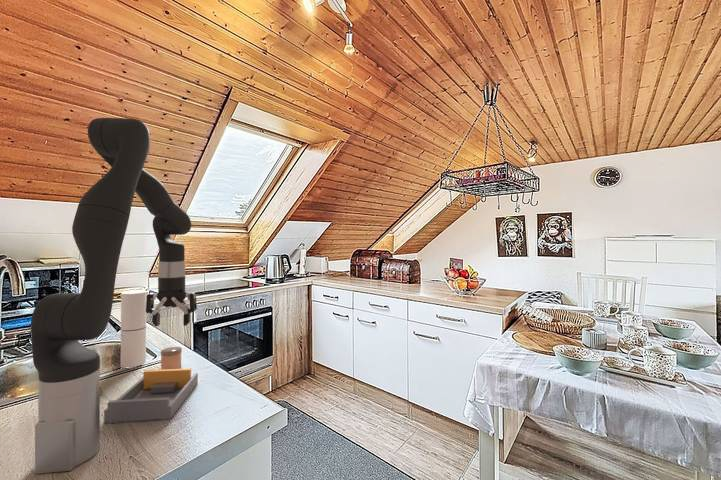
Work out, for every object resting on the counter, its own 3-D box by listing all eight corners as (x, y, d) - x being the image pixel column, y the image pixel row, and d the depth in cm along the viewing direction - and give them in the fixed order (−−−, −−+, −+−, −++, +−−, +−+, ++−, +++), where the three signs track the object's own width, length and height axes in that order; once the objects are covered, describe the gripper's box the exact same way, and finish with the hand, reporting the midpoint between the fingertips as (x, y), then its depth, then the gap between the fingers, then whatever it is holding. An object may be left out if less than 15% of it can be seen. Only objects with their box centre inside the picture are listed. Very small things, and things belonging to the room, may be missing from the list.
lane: (170, 419, 79) (171, 399, 79) (104, 423, 77) (104, 402, 77) (197, 383, 98) (197, 367, 98) (144, 386, 96) (144, 369, 96)
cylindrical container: (132, 369, 107) (133, 294, 106) (115, 367, 108) (115, 293, 108) (150, 361, 114) (151, 290, 113) (134, 359, 115) (134, 289, 115)
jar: (177, 378, 101) (177, 352, 101) (157, 379, 100) (157, 353, 100) (184, 370, 107) (184, 346, 107) (165, 371, 106) (165, 347, 106)
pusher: (185, 391, 92) (185, 374, 92) (137, 394, 90) (138, 376, 90) (191, 384, 96) (191, 368, 96) (145, 387, 94) (145, 370, 94)
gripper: (141, 276, 98) (141, 329, 99) (191, 276, 100) (191, 328, 101) (153, 273, 106) (153, 322, 106) (199, 273, 108) (199, 321, 108)
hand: (171, 325), depth 103 cm, fingers open, 8 cm apart
